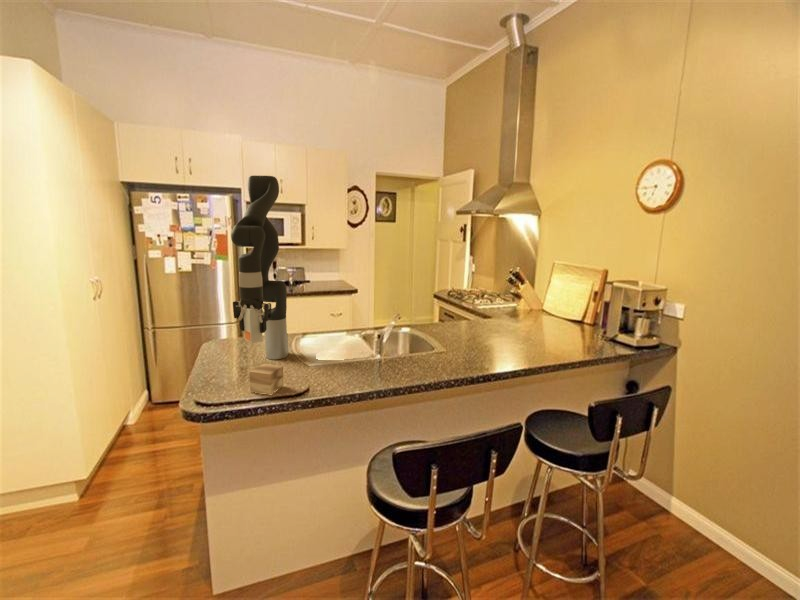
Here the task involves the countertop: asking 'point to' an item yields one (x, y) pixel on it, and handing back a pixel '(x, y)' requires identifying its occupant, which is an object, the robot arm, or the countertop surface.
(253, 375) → the tan square block
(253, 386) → the block lower
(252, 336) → the skincare box
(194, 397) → the countertop surface
